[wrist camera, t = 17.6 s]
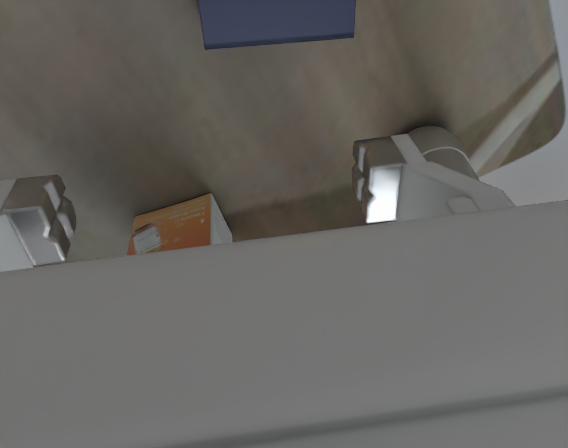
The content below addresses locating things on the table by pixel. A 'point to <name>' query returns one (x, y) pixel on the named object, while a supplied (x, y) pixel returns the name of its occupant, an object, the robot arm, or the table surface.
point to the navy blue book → (274, 21)
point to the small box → (179, 227)
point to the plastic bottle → (442, 149)
